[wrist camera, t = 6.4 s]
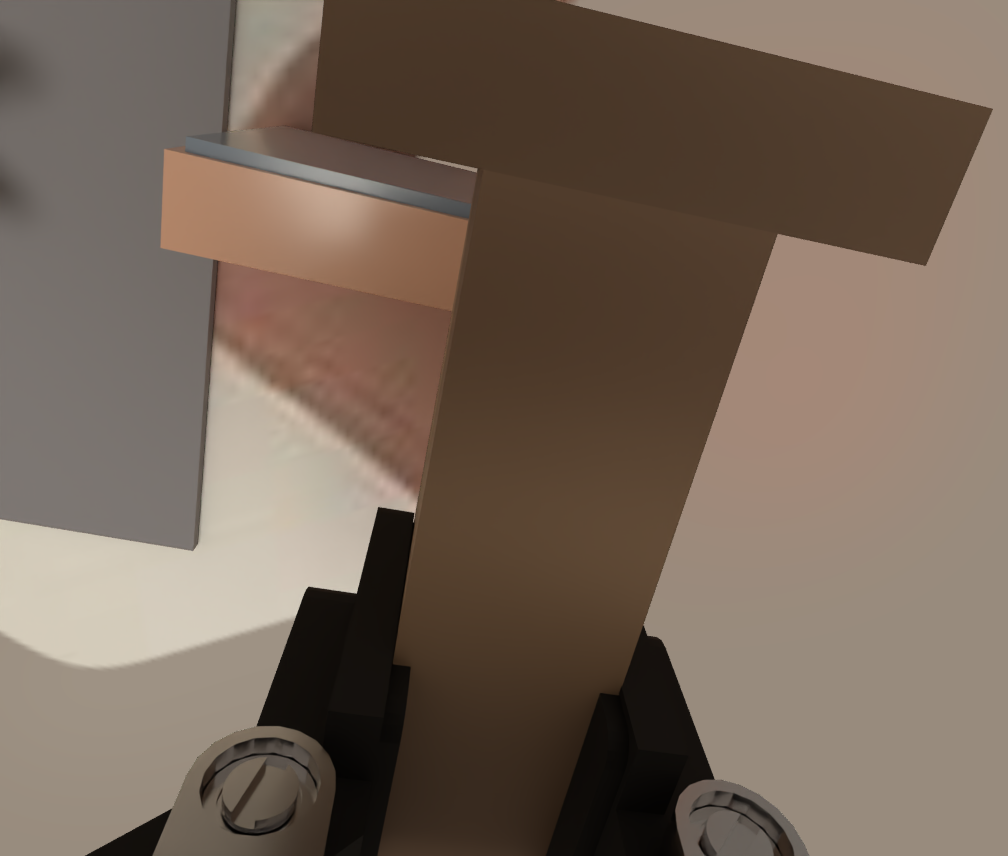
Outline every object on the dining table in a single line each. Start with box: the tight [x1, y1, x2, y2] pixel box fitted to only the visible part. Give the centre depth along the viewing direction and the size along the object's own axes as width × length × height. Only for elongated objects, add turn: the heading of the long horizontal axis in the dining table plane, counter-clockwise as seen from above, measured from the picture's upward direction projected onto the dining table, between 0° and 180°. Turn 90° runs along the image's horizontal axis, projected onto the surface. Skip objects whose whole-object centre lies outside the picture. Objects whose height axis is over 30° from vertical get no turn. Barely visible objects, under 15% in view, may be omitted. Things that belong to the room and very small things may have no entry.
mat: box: [0, 0, 236, 551], centre depth 24 cm, size 20×8×1 cm, turn 167°
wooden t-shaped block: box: [312, 0, 993, 856], centre depth 10 cm, size 16×5×4 cm, turn 168°
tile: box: [160, 126, 477, 311], centre depth 19 cm, size 2×7×9 cm, turn 77°
